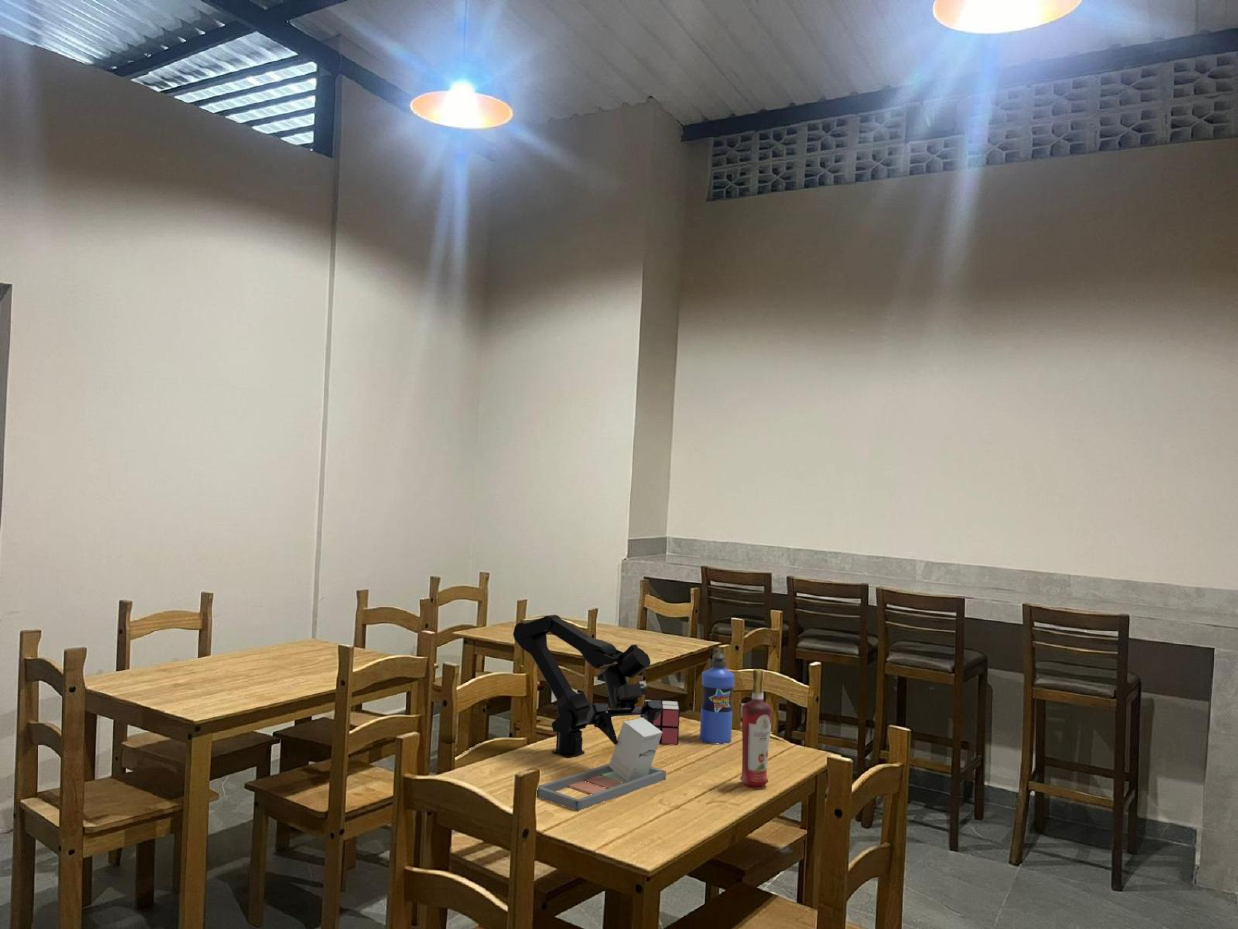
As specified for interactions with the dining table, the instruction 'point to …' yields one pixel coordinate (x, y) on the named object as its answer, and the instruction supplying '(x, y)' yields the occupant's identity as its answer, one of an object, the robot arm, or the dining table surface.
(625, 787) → the shallow tray
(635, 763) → the supplement box
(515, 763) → the dining table surface
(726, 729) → the water bottle
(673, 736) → the puzzle cube
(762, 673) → the liquor
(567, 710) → the robot arm
